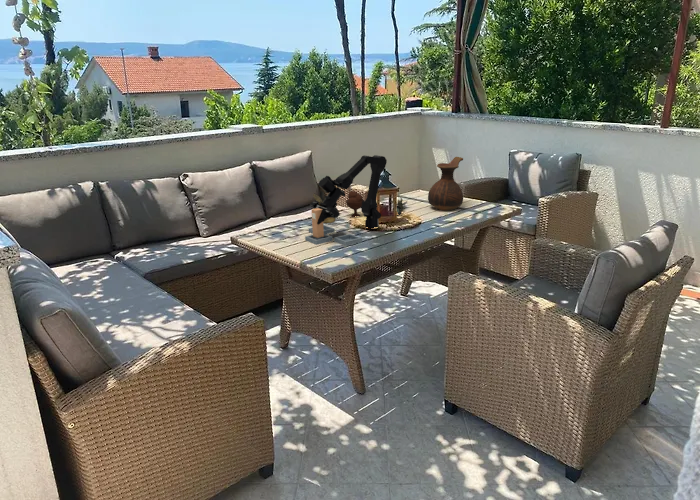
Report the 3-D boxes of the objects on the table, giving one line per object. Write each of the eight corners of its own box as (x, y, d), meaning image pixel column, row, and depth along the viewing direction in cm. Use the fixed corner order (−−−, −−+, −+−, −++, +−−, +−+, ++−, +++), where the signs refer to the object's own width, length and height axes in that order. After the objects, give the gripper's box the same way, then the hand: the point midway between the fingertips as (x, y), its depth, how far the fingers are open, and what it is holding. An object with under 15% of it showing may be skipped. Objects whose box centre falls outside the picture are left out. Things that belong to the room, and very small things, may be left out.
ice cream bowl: (352, 219, 321) (351, 194, 317) (343, 215, 331) (342, 190, 326) (368, 216, 326) (367, 191, 321) (359, 213, 336) (358, 188, 331)
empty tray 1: (324, 229, 303) (323, 224, 303) (334, 233, 296) (334, 228, 295) (308, 232, 298) (308, 228, 297) (319, 236, 290) (318, 232, 289)
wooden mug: (310, 223, 317) (308, 192, 311) (327, 218, 326) (326, 188, 320) (320, 225, 311) (319, 194, 305) (338, 221, 319) (337, 190, 314)
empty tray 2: (350, 238, 285) (349, 233, 285) (362, 242, 278) (362, 237, 277) (334, 242, 280) (334, 237, 279) (346, 246, 272) (345, 242, 271)
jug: (466, 212, 330) (468, 161, 320) (430, 213, 330) (431, 162, 321) (460, 203, 350) (461, 155, 341) (426, 204, 351) (426, 156, 341)
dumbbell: (388, 218, 328) (384, 201, 327) (398, 213, 348) (395, 197, 347) (402, 214, 324) (398, 198, 323) (412, 210, 345) (408, 194, 344)
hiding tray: (321, 237, 289) (321, 232, 288) (332, 241, 281) (332, 236, 281) (305, 241, 283) (305, 236, 283) (316, 245, 276) (316, 240, 275)
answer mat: (340, 233, 295) (340, 232, 295) (350, 236, 288) (350, 235, 288) (326, 236, 290) (326, 235, 290) (336, 240, 283) (336, 239, 283)
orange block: (319, 234, 284) (318, 208, 280) (323, 236, 281) (322, 209, 277) (312, 236, 282) (311, 209, 277) (317, 237, 279) (315, 210, 274)
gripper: (352, 210, 279) (335, 235, 276) (331, 204, 293) (315, 228, 291) (339, 197, 272) (322, 223, 269) (318, 191, 286) (301, 216, 284)
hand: (315, 223), depth 278 cm, fingers closed on orange block, 4 cm apart
